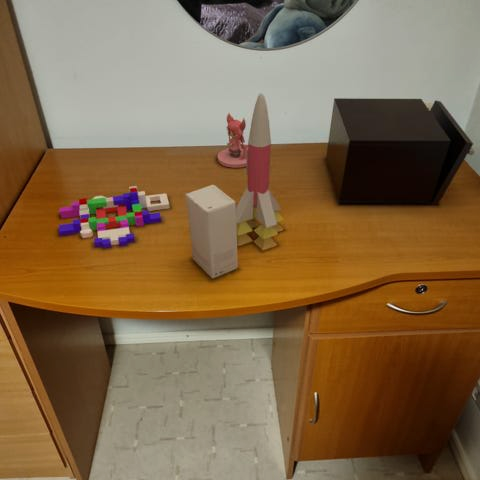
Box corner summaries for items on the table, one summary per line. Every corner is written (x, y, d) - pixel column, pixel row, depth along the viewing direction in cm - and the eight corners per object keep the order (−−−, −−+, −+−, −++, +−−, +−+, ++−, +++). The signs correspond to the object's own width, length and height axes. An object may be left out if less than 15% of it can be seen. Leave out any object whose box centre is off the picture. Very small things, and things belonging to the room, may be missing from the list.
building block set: (59, 254, 101) (53, 236, 98) (61, 203, 115) (56, 187, 112) (177, 238, 106) (175, 220, 102) (165, 191, 120) (163, 174, 117)
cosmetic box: (238, 269, 98) (238, 202, 87) (210, 280, 95) (206, 212, 84) (217, 248, 103) (214, 182, 92) (190, 258, 100) (184, 192, 89)
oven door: (422, 161, 133) (452, 104, 122) (449, 207, 116) (486, 146, 105) (406, 157, 132) (435, 100, 122) (431, 204, 115) (466, 142, 105)
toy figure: (210, 160, 131) (208, 116, 123) (233, 148, 137) (233, 105, 128) (237, 171, 127) (237, 126, 118) (260, 158, 132) (261, 114, 124)
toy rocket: (294, 239, 106) (308, 97, 84) (247, 255, 101) (250, 111, 80) (264, 213, 113) (270, 77, 92) (219, 227, 108) (215, 88, 87)
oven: (405, 158, 133) (421, 98, 121) (429, 205, 116) (450, 140, 104) (325, 158, 133) (334, 98, 121) (338, 204, 116) (349, 140, 104)
